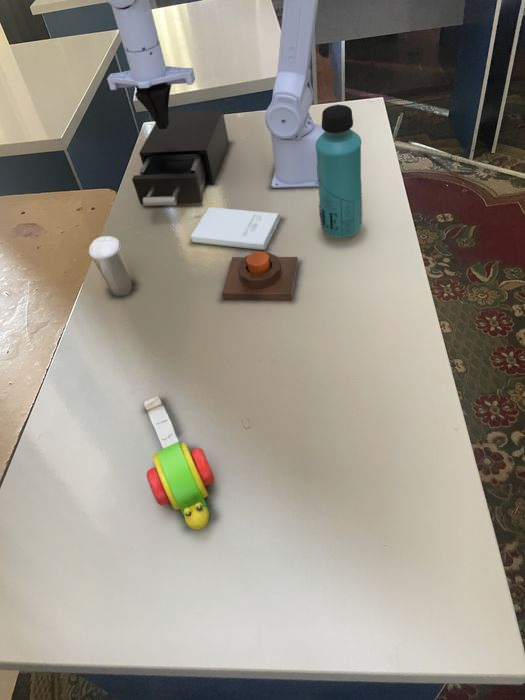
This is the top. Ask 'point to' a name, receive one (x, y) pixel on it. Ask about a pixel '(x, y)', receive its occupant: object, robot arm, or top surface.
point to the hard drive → (236, 228)
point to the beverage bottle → (339, 173)
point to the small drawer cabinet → (191, 139)
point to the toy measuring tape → (178, 470)
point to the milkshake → (111, 264)
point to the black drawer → (171, 180)
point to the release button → (258, 262)
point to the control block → (261, 280)
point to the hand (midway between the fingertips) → (164, 126)
